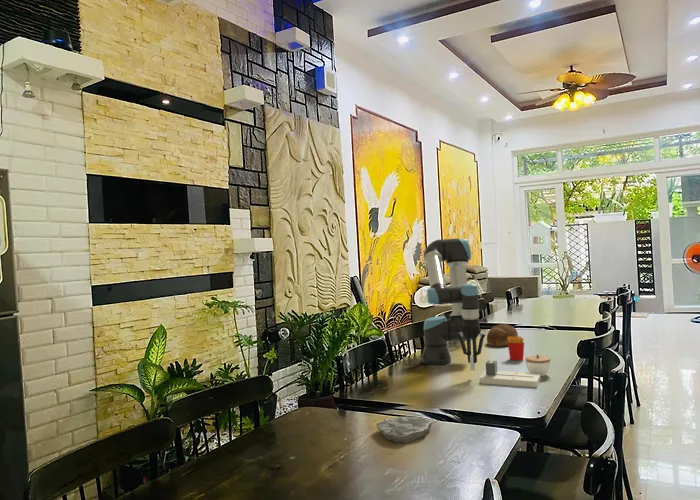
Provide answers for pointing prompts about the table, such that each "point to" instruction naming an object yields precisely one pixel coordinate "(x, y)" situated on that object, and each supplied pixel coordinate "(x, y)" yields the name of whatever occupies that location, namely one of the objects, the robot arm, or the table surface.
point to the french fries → (516, 348)
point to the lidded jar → (538, 364)
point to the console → (511, 378)
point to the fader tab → (491, 367)
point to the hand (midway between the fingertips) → (472, 369)
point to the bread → (500, 335)
